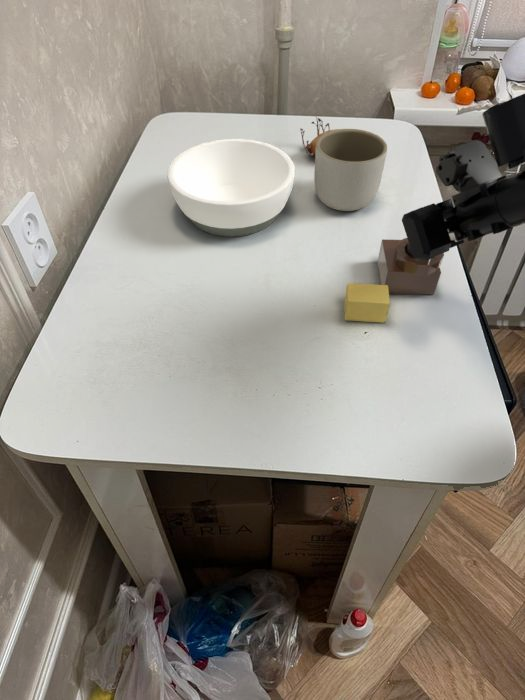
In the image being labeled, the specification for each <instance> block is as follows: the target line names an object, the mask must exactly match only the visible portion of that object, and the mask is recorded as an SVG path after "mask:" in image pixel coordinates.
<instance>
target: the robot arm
mask: <svg viewBox="0 0 525 700" xmlns="http://www.w3.org/2000/svg"><path fill="white" fill-rule="evenodd" d="M481 115H482V118H483V121H484V125H485V129H486V132H487V135H488V139H489V142H490V146H491V149H492V153H493V155H492V153H491V152H490V151H489V149H488V147H487V146H486V144H485V143H484V142H482V141H481V140H479V139H476V140H475V139H474V140H472V141H468V142H466V143H462V144H458V145H456V146H455V147H454V148H453V149H452V150H450V151H448V152H446V154H444V155H440V157H439V159H438V161H439V163H438V164H437V166H436V167H435V173H436V175H437V176H438V178H439V179H440V182H442V184H443V185H444V187H450V186H452V187H453V189H454V190H455V191H456V192H457V193H456V194H453V195H451V198H449V199H446V200H443V201H440V202H437V203H430V204H428V205H424V206H421V207H420V208H417V209H414V210H411V211H409V212H406V213H404V214H403V215H402V218H401V223H402V225H403V226H402V227H403V229H404V232H405V235H406V238H408V241H409V245H410V248H411V251H412V254H413V257H414V259H415V260H417V261H423V260H427V259H430V258H432V257H435V256H437V255H440V254H442V253H444V254H445V253H448V252H449V251H450V249H452V248H454V247H457V246H459V245H462V244H464V243H465V239H467V241H468V242H471V241H475V240H477V239H479V238H480V239H481V238H482V237H486V236H487V235H491V234H493V235H496V234H499V233H503V232H505V231H507V230H509V229H512V228H514V227H519V226H522V225H525V169H523V170H520V171H519V172H516V173H508V174H505V175H502V173H501V171H500V169H499V168H500V167H503V166H504V165H507V168H508V170H510V169H514V168H517V167H520V166H522V165H525V93H522V94H520V95H518V96H515V97H513V98H511V99H508V100H506V101H503V102H500V103H499V102H498V103H496V104H494V105H493V106H491V107H488V108H487V109H486V110H484V111H483V112H482V114H481Z"/></svg>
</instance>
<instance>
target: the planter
mask: <svg viewBox="0 0 525 700" xmlns="http://www.w3.org/2000/svg"><path fill="white" fill-rule="evenodd" d="M337 129H338V130H335V129H332V130H333V131H330V132H327V133H325V134H323V135H322V136H321V137H319V139H318V140H317V143H316V155H315V157H314V171H313V173H314V174H313V175H314V177H313V179H314V189H315V192H316V195H317V197H318V199H319V200H320V202H322V204H324V205H325V206H327V207H328V208H331V209H332V210H334V211H335V210H336V211H340V212H354V211H358V210H361V209H363V208H365V207H367V206H368V205H369V204H370V203H372V201H373V200H374V198H375V197H376V196H377V193H378V191H379V188H380V185H381V182H382V177H383V173H384V168H385V163H386V158H387V154H388V153H387V152H388V144H387V142H386V141H385V140H384V139H383V138H382V137H381V136H380V135H378V134H375V133H373V132H371V131H367V130H363V129H357V128H337Z"/></svg>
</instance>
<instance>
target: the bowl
mask: <svg viewBox="0 0 525 700" xmlns="http://www.w3.org/2000/svg"><path fill="white" fill-rule="evenodd" d="M295 172H296V168H295V164H294V161H293V160H292V159H291V157H290V156H289V155H288V154H287V153H286V152H285V151H284V150H282V149H280V148H278V147H277V146H276V145H273V144H270V143H266V142H263V141H259V140H255V139H249V138H248V139H247V138H223V139H222V138H221V139H216V140H210V141H206V142H202V143H199V144H196V145H194V146H191V147H188V148H187V149H185V150H184V151H182V152H180V153H179V154H178V155H177V156H175V157H174V159H172V161H171V162H170V164H169V166H168V168H167V181H168V184H169V189H170V192H171V194H172V197H173V199H174V200H175V202H176V205H177V206H178V207H179V209H180V210H181V211H182V213H184V215H185V216H186V217H187V219H189V221H190V222H192V224H193V225H194V226H195V227H196V228H198V229H199V230H201V231H203V232H205V233H207V234H211V235H214V236H219V237H232V238H233V237H243V236H248V235H252V234H256V233H259V232H261V231H263V230H265V229H267V228H268V227H269V226H270V225H272V224H273V223H274V222H275V220H276V219H277V217H278V216H279V215H280V214H281V212H282V210H283V209H284V208H285V206H286V204H287V202H288V200H289V198H290V196H291V193H292V191H293V188H294V181H295V175H296V173H295Z"/></svg>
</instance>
